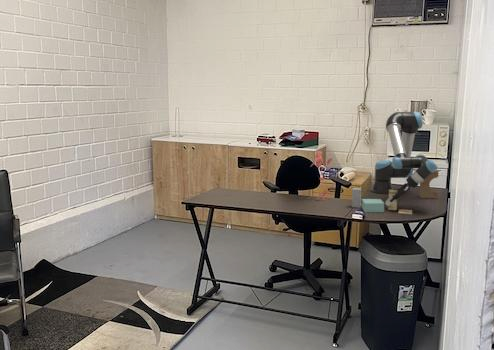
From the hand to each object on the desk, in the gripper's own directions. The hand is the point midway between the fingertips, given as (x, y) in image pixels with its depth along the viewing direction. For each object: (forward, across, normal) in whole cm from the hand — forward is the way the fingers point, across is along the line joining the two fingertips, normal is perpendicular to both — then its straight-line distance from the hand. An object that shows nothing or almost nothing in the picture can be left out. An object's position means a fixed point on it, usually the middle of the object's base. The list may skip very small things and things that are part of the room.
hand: (386, 203), depth 298 cm
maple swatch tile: (-6, -6, -11) cm, 14 cm away
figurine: (+37, +18, +32) cm, 52 cm away
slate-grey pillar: (+16, +1, +11) cm, 20 cm away
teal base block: (+8, -5, +3) cm, 10 cm away
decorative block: (-16, +39, -21) cm, 47 cm away
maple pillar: (0, 0, -5) cm, 5 cm away
